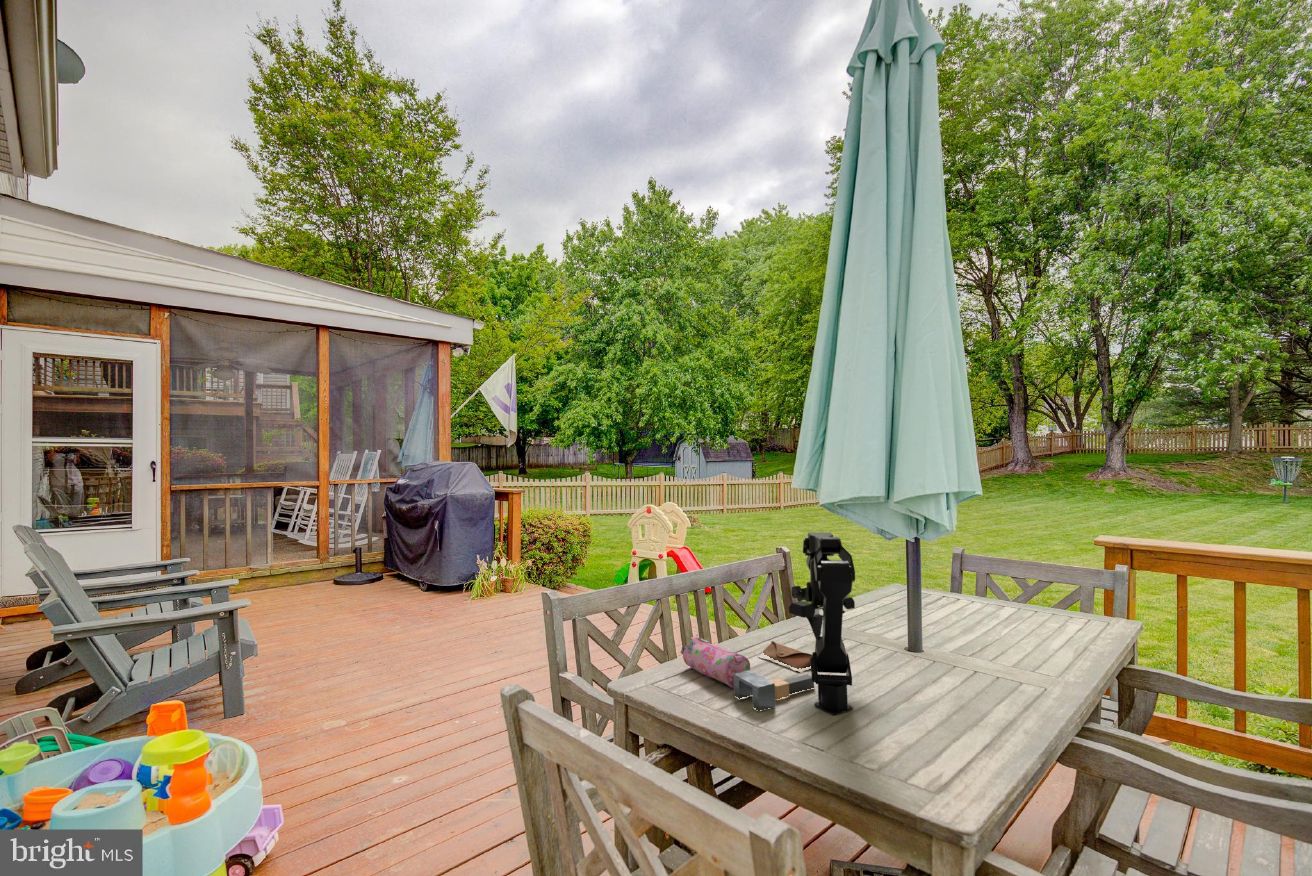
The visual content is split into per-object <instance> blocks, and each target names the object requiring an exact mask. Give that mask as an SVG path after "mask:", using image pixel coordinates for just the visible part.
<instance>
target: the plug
mask: <svg viewBox="0 0 1312 876" xmlns="http://www.w3.org/2000/svg"><path fill="white" fill-rule="evenodd" d="M768 680H769V681H771V682H773V683H775V699H780V698H782V697H787V696H789V694H792V693H795V692H799V691H802V690H807V689H811V688H814V689H815V682H813V681H812V675H810V674H808V673H807V674H802V675H800V676H795V677H790V678H788V679H787V678H785V679H781V678H779V677H777V678H773V679H768ZM789 697H790V696H789Z"/></svg>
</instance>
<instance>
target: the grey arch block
mask: <svg viewBox="0 0 1312 876" xmlns="http://www.w3.org/2000/svg"><path fill="white" fill-rule="evenodd" d="M769 680H770V679H767V678H765V677H763V676H762V675H759V674H758V673H756V672H754V671H753V670H751V669H750V670H748V671H744V672H739V673H735V674H734V688H733V696H736V697H738V698H739V699H740V698H742V697H747V696H750V695H753V697H752V708H753V707H754V708H756V710H758V711H760V710H764V709H768V708H772V709H774V708H773V707H775V708H776V700H775V683H773V682H771V681H769ZM756 710H755V711H756ZM758 711H757V712H758Z"/></svg>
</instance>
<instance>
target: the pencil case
mask: <svg viewBox="0 0 1312 876" xmlns="http://www.w3.org/2000/svg"><path fill="white" fill-rule="evenodd" d="M689 639H690V641H689V642H688V643H686V645H685V647H684V646H682V647H681V650H680V654H682V658H683V662H684V663H685V664H686V665H687V666H688V667H689V666H690V668H692V669H693V670H695V671H697V672H699V673H700V674H702V675H703V676H704V675H705V676H706V675H707V676H706V677H708V676H709V677H708V678H712V679H715V680H716V681H718V682H720V683H723V684H726V685H727V686H728V687H729V688H732V687H734V674H735V673H739V672H744V671H748V670H750V671H751V663H750V660H749V659H748V658H747V657H746V656H744V655H743V654H741V653H738V652H737V651H730V650H727V649H725V648H722V647H719V646H717V645H714V644H711V643H710V641H709V640H706V639H703V638H702V637H700V636H691V637H690V638H689Z"/></svg>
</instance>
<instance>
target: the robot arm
mask: <svg viewBox="0 0 1312 876" xmlns="http://www.w3.org/2000/svg"><path fill="white" fill-rule="evenodd" d="M802 554H804V555H805V556H807V557H806V560H805V562H806V566H807V568H808V569H809V573H810V574H809V577H810V578H809V579H810V580H809V581H807V583H806V587H803V588H801V586H800V585H795V586H792V587H791V591H790V593H791V597H792V599H793V600H795V599H797V601H793V602H790V603H789V604H788V613H789V614H790V615H794V616H798V617H800V618H806V619H807V621H808V622H809V626H810V628H811V631H812V632H813V635H814V638H815V643H814V651H813V652H812V654H811V655H812V657H811V658H810V663H811V671H810V673H811V675H810V676H812V681H813V682H814V684H815V685H817V693H818V694H817V695H818V696H817V698H818V701H816V702H814V703H813V704H814V707H817V708H819V709H821V710H822V711H825V712H826V713H829V714H830V715H832V716H836V715H838V714H841V713H845V712H848V711H851V710H853V706H851V705H850V704H849V703H848V686H853V674H852V670H851V669H852V668H851V662H850V656H849V653H848V652H847V651H846V646H845V643H844V642H843V641H844V640H843V638H842V634H843V615H844V614H845V612H846V611H845V610H844V608H845V609H846V610H851V609H855V608H856V606H855V605H856V604H855V600H854V598H853V597H851V596H849V595H850V593H852V588H853V582H855V581H856V570H855V564H854V560H853V555H852V554H851V553H850V552H849V551H848V550H847V549H846V548H845V547H844V546H843V545H842V540H841V537H837V536H834V535H833V533H832V532H808V533H807V536H805V537H804V539H803V543H802ZM835 555H838V558H839V559H841V560H834V559H833V560H832V559H829V558H828V557H832V556H835ZM820 610H822V611H823V612H822V613H823V614H820ZM821 633H822V636H821ZM820 673H821V674H820ZM822 673H823V674H822ZM824 673H826V674H824ZM827 673H829V674H827ZM831 673H832V674H831ZM842 674H843V675H842ZM844 674H845V675H844Z"/></svg>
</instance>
